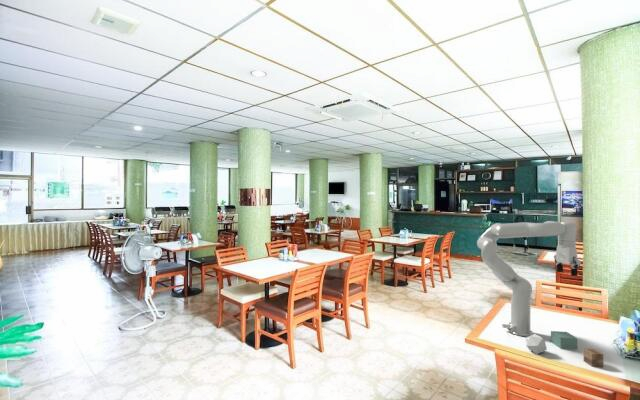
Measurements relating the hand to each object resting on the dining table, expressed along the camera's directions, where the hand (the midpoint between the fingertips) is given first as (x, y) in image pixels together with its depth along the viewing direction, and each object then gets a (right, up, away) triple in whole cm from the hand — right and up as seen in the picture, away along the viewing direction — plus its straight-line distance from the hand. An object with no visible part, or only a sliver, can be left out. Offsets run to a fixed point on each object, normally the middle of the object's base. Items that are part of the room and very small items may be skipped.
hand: (566, 273), depth 178 cm
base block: (-11, -36, -12) cm, 39 cm away
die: (-31, -35, -19) cm, 50 cm away
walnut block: (-12, -35, -31) cm, 48 cm away
